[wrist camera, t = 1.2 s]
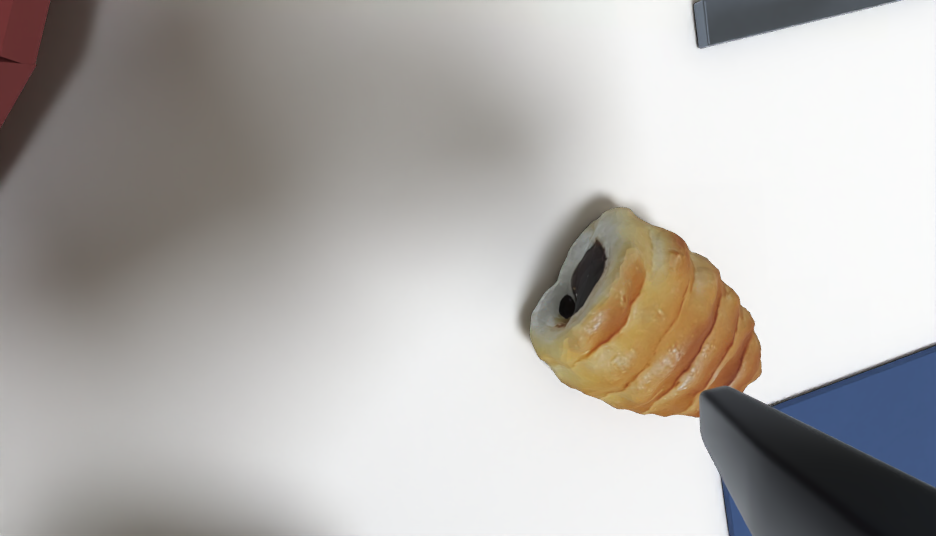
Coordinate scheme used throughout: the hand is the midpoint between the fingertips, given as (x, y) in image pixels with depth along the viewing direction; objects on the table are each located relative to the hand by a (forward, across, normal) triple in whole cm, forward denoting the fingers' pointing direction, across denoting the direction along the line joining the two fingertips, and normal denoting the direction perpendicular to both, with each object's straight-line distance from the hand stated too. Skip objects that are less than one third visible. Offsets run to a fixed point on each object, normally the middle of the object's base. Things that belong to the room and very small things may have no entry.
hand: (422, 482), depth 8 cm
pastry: (+12, -7, +6) cm, 15 cm away
